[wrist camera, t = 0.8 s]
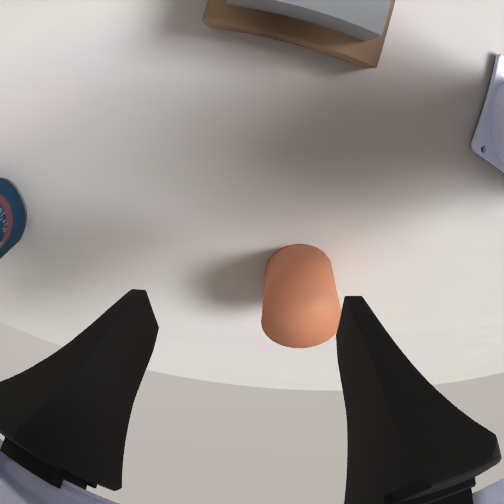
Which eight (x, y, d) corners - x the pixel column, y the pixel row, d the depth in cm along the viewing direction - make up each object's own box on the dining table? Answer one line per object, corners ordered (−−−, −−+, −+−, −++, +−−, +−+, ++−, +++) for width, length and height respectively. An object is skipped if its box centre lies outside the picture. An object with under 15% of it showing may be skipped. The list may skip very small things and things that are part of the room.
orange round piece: (342, 254, 20) (355, 302, 16) (317, 302, 22) (322, 353, 18) (276, 236, 19) (274, 283, 15) (258, 289, 22) (252, 339, 18)
